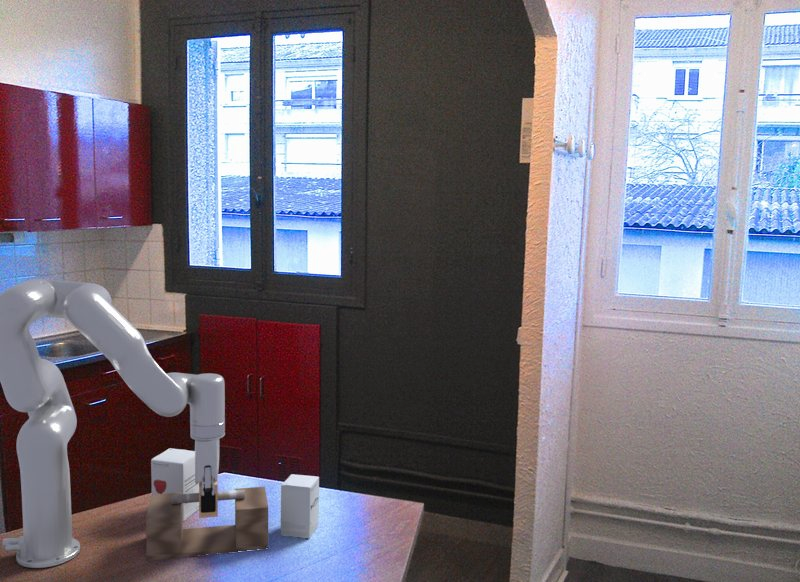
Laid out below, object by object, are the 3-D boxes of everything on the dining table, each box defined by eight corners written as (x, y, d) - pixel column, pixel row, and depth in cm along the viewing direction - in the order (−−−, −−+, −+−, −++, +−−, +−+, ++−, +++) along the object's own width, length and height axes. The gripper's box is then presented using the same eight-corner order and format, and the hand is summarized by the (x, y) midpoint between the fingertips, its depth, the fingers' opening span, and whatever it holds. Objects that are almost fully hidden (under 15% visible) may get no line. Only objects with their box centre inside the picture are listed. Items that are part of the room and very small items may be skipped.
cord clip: (199, 518, 163) (199, 485, 162) (199, 506, 169) (199, 475, 168) (217, 516, 164) (217, 484, 163) (217, 505, 170) (217, 474, 169)
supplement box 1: (150, 517, 180) (149, 459, 178) (170, 503, 188) (169, 447, 186) (183, 522, 178) (182, 463, 176) (202, 507, 186) (201, 450, 184)
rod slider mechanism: (146, 560, 159) (145, 508, 157) (151, 535, 170) (150, 486, 169) (268, 549, 165) (268, 498, 163) (264, 526, 177) (264, 478, 175)
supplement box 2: (309, 539, 170) (310, 487, 169) (279, 536, 172) (279, 484, 170) (319, 525, 178) (320, 476, 176) (290, 522, 179) (290, 473, 177)
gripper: (191, 418, 172) (192, 492, 174) (188, 442, 155) (190, 523, 157) (224, 417, 173) (225, 489, 176) (225, 440, 157) (225, 520, 159)
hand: (208, 505), depth 166 cm, fingers closed on cord clip, 5 cm apart
